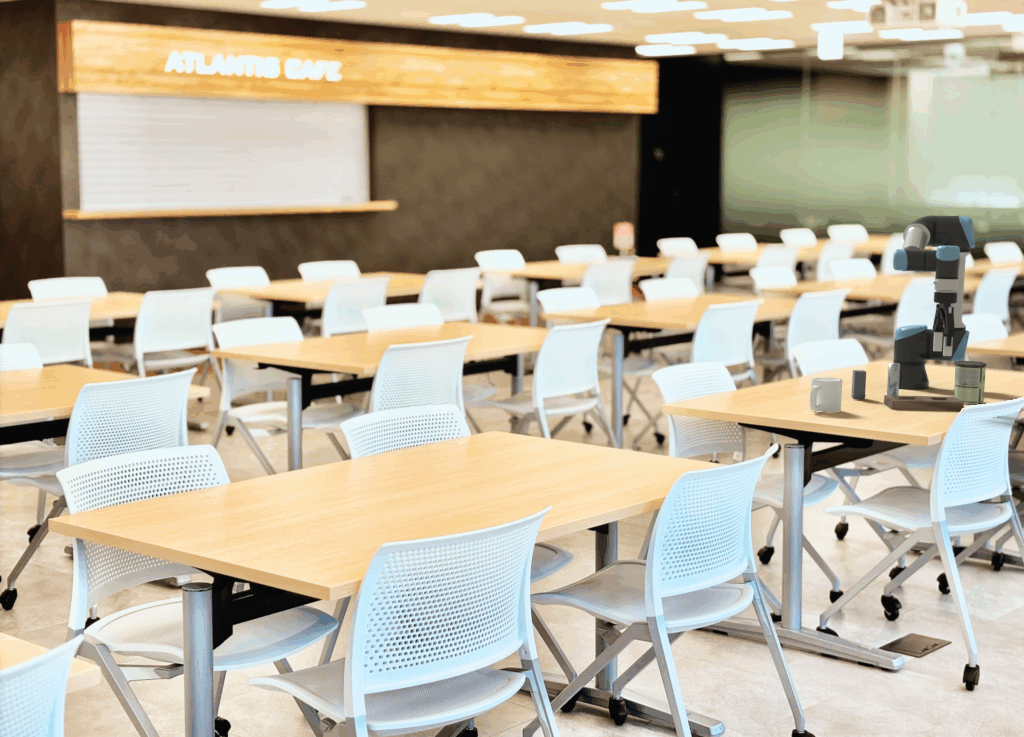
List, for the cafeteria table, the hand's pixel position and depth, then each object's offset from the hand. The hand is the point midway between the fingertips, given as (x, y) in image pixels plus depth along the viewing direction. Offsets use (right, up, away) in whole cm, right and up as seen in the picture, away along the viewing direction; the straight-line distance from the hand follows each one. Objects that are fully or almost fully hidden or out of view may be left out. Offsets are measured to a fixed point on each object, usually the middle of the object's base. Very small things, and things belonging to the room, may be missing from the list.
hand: (942, 353), depth 451 cm
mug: (-42, -20, -8) cm, 47 cm away
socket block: (-6, -18, +3) cm, 19 cm away
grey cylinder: (-12, -16, +19) cm, 28 cm away
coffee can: (+14, -17, +15) cm, 27 cm away
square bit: (-23, -16, +20) cm, 35 cm away
